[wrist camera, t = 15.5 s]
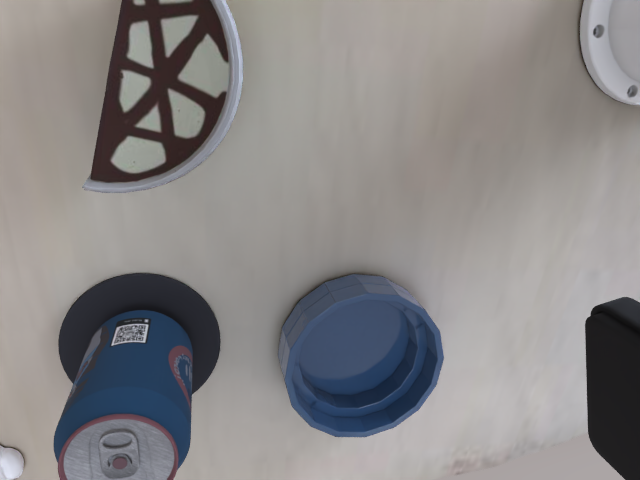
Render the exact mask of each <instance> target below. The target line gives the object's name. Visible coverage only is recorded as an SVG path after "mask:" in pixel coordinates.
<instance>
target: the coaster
mask: <svg viewBox="0 0 640 480" xmlns="http://www.w3.org/2000/svg"><path fill="white" fill-rule="evenodd" d="M136 310H147V311H154V312H158V313H161V314H164V315H166V316H168V317H170V318H171V319H173V320H174V321H176V322H177V323H178V324H179V325H180V326H181V327H182V328H183V329H184V330H185V332H186V333H187V335H188V337H189V339H190V342H191V345H192V351H193V362H192V394H193V393H194V392H196V391H197V390H198V389H199V388H200V387H201V386H202V385H203V384H204V383H205V382H206V380H207V379H208V378H209V376H210V375H211V373H212V371H213V369H214V367H215V365H216V362H217V360H218V356H219V351H220V332H219V327H218V323H217V320H216V318H215V315H214V313H213V311H212V310H211V308H210V306H209V305H208V304H207V303H206V301H205V300H204V299H203V298H202V297H201V296H200V295H199V294H198V293H197V292H196V291H194V290H193V289H191V288H190V287H189V286H187V285H185V284H183V283H181V282H179V281H177V280H174V279H172V278H169V277H165V276H161V275H156V274H146V273H136V274H126V275H122V276H117V277H114V278H111V279H108V280H105V281H103V282H101V283H99V284H97V285H95V286H94V287H92V288H91V289H89V290H88V291H86V292H85V293H84V294H83V295H82V296H80V297H79V298H78V300H77V301H76V302H75V303H74V304H73V305H72V307H71V308H70V310H69V311H68V313H67V315H66V317H65V319H64V321H63V323H62V327H61V330H60V334H59V354H60V359H61V363H62V365H63V368H64V370H65V372H66V374H67V376H68V377H69V379H70V380H71V381H72V383H73V384H74V382H75V379H76V376H77V374H78V371H79V369H80V366H81V363H82V361H83V358H84V356H85V353H86V351H87V348H88V345H89V343H90V340H91V338H92V336H93V335H94V333H95V332H96V331H97V330H98V328H99V327H100V326H101V325H102V324H104V323H105V322H106V321H108V320H109V319H111V318H113V317H115V316H117V315H119V314H122V313H125V312H129V311H136Z"/></svg>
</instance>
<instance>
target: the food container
mask: <svg viewBox="0 0 640 480" xmlns="http://www.w3.org/2000/svg"><path fill="white" fill-rule="evenodd" d="M242 83H243V57H242V51H241V44H240V38H239V35H238V32H237V28H236V25H235V22H234V18H233V16H232V14H231V12H230V10H229V8H228V5H227V3H226V1H225V0H122V4H121V9H120V15H119V20H118V26H117V31H116V36H115V41H114V46H113V51H112V56H111V61H110V66H109V73H108V79H107V85H106V92H105V98H104V103H103V109H102V114H101V120H100V125H99V131H98V137H97V142H96V148H95V153H94V159H93V165H92V171H91V175H90V176H89V177H88V179H87V180H86V182H85V183H84V185H83V187H82V188H84V190H88V191H95V192H102V193H127V192H134V191H141V190H146V189H150V188H154V187H157V186H160V185H163V184H167V183H169V182H171V181H173V180H175V179H177V178H179V177H182V176H184V175H185V174H187V173H188V172H190V171H191V170H193V169H194V168H195V167H197V166H198V165H200V164H201V163H202V162H203V161H204V160H205V159H206V158H207V157H208V156H209V155H210V154H211V153H212V152H213V151H214V150H215V149H216V147H217V146H218V145H219V143H220V142H221V141H222V139H223V138H224V137H225V135H226V133H227V131H228V129H229V127H230V125H231V123H232V121H233V119H234V117H235V114H236V110H237V107H238V104H239V101H240V96H241V89H242Z"/></svg>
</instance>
